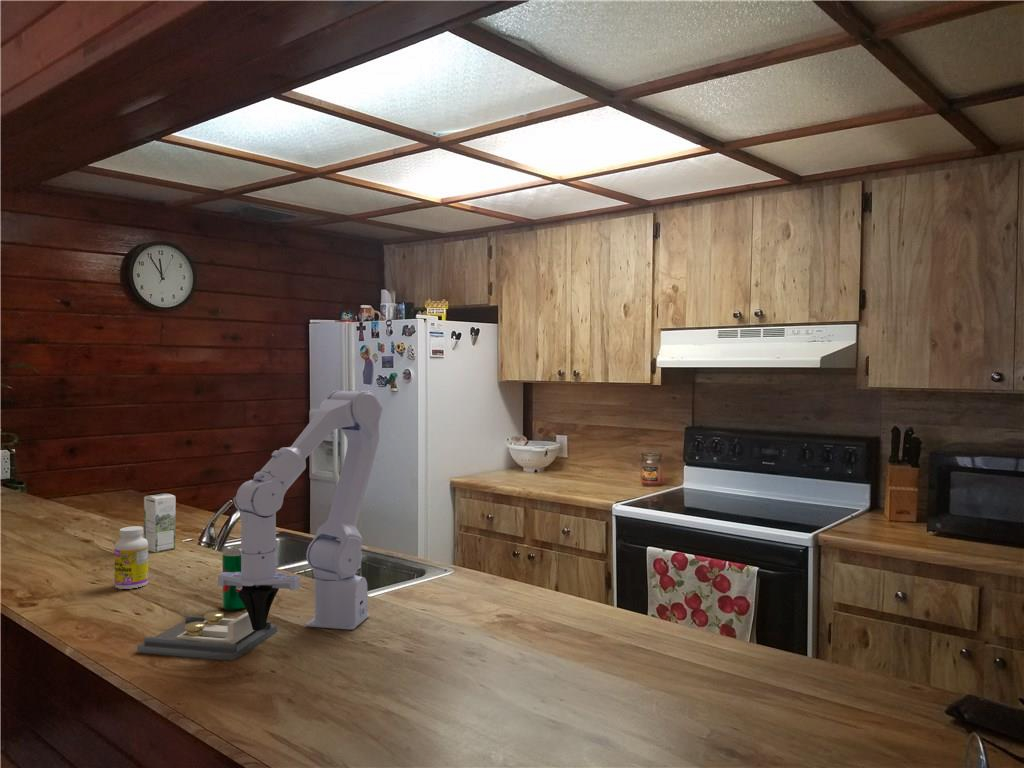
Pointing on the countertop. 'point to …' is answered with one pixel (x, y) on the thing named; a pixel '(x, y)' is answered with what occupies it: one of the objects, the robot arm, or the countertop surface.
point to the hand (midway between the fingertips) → (259, 628)
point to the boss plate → (202, 649)
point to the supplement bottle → (131, 559)
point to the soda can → (232, 564)
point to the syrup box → (160, 522)
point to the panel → (223, 630)
